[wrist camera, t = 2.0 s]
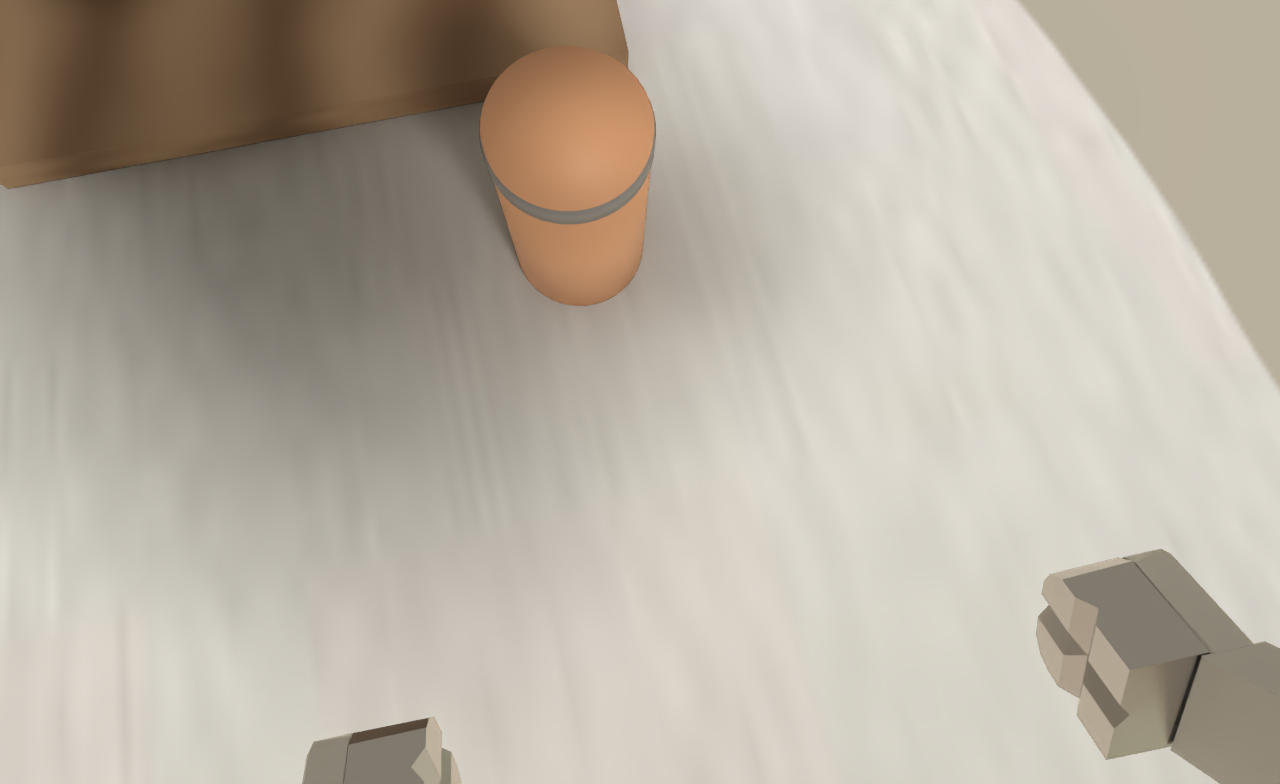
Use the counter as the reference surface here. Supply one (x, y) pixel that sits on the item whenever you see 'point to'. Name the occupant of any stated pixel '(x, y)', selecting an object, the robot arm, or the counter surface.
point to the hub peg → (571, 169)
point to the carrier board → (251, 70)
